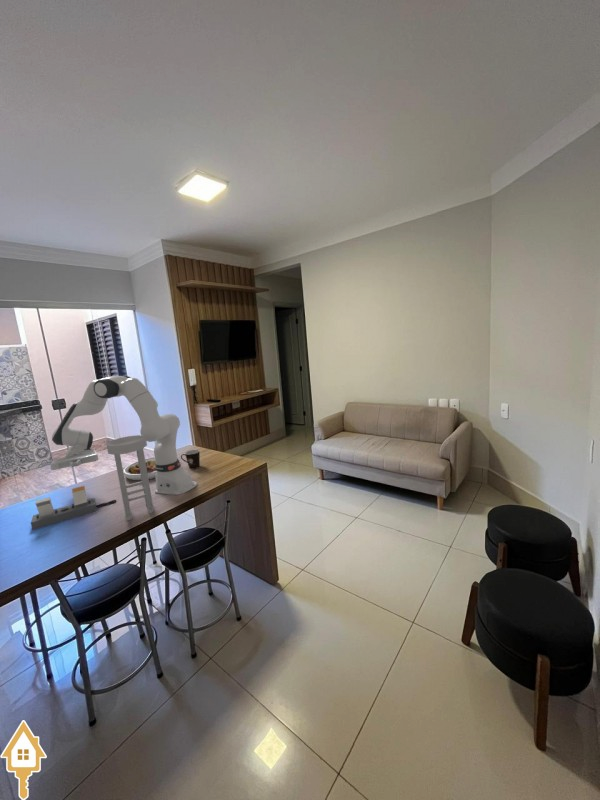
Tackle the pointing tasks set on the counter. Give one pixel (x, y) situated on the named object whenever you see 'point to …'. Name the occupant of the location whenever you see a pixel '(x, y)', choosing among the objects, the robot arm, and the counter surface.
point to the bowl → (134, 471)
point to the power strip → (66, 513)
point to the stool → (137, 445)
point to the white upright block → (79, 495)
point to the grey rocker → (44, 506)
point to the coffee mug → (192, 459)
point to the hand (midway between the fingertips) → (74, 464)
